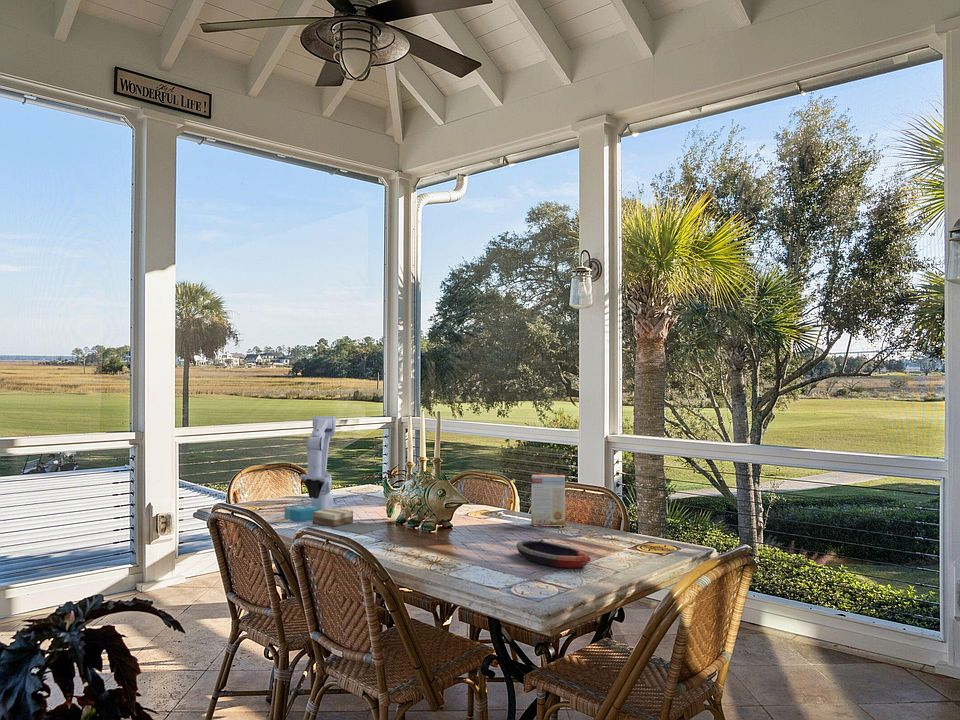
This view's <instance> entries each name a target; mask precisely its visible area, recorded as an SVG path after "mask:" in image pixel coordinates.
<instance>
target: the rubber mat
mask: <svg viewBox="0 0 960 720" xmlns="http://www.w3.org/2000/svg"><path fill="white" fill-rule="evenodd" d="M386 528H389V527H388V525H381V524H377V523H370V522H369V523H368V522H364V521H363V522H362V521H355V522H353V523H350V524H346V525H342V526H338V527H330V529H331V530H334V531H335V530H336V531H341V532H348V533H354V534H359V535H362V534H363V535H364V534H367V533H371V532H374V531H379V530H381V529H386Z"/></svg>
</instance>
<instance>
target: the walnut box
mask: <svg viewBox="0 0 960 720" xmlns="http://www.w3.org/2000/svg"><path fill="white" fill-rule="evenodd" d="M350 523H354V515H353V516H351V517H346V518H342V519H337V520H330V519H324V518H318V517H313V520H312V525H317V526H321V527H329V528H333V527H338V526H342V525H346V524H350Z"/></svg>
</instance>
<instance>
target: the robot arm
mask: <svg viewBox="0 0 960 720" xmlns="http://www.w3.org/2000/svg"><path fill="white" fill-rule="evenodd" d="M336 424H337V418H336V416H335V415H313V417H312V431H311V433H310V436H309V437H308V438H306V455H307V474H304V473H303V474H300V477H299V479H300V480H304V481H303V484H304V485H305V487H306V490H307V494H308V497H309V499H310V505H312V506H315V507H319V508H321V510H324V509H329V508H334V497H333V495H332V493H331V492H332V484H333V482H332V481H333V479H332V478H333V477H332V475H331V474H330V473H329V472H328V471H327V468H328V467H327V465H328V457H329V449H330V448H329V446H330V441H331V438H333V437H334V436H335V433H336V429H337V428H336V426H337V425H336Z"/></svg>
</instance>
